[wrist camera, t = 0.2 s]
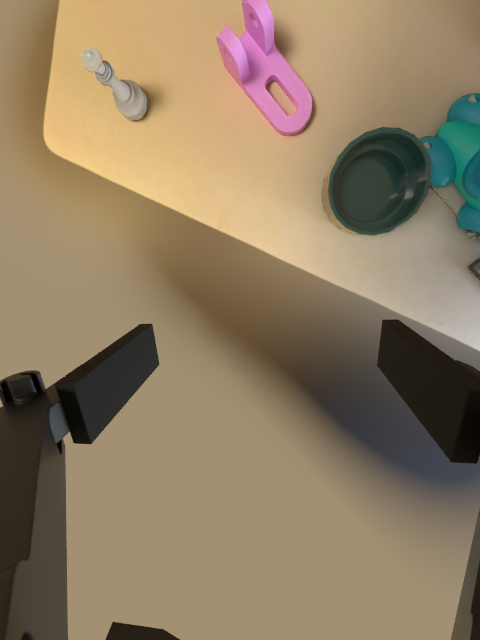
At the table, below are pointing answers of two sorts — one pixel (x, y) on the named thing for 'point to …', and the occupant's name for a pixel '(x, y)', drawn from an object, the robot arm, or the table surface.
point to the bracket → (264, 68)
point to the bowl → (377, 182)
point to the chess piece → (116, 85)
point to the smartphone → (475, 268)
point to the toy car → (458, 162)
